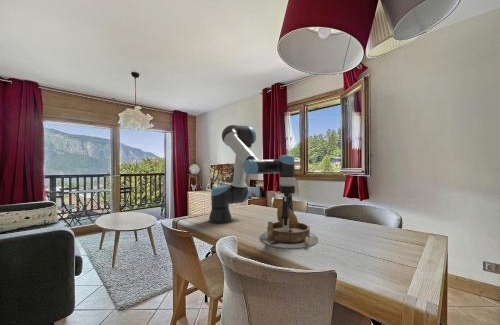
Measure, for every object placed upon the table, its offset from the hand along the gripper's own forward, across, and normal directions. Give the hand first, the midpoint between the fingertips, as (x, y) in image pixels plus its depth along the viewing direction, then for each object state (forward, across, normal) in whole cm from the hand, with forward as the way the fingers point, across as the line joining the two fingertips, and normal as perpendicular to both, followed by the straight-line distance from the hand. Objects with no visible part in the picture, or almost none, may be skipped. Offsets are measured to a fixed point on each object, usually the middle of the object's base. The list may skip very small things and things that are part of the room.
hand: (288, 228), depth 117 cm
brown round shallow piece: (+3, -2, +1) cm, 4 cm away
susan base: (+5, 0, 0) cm, 5 cm away
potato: (-4, -4, +2) cm, 6 cm away
